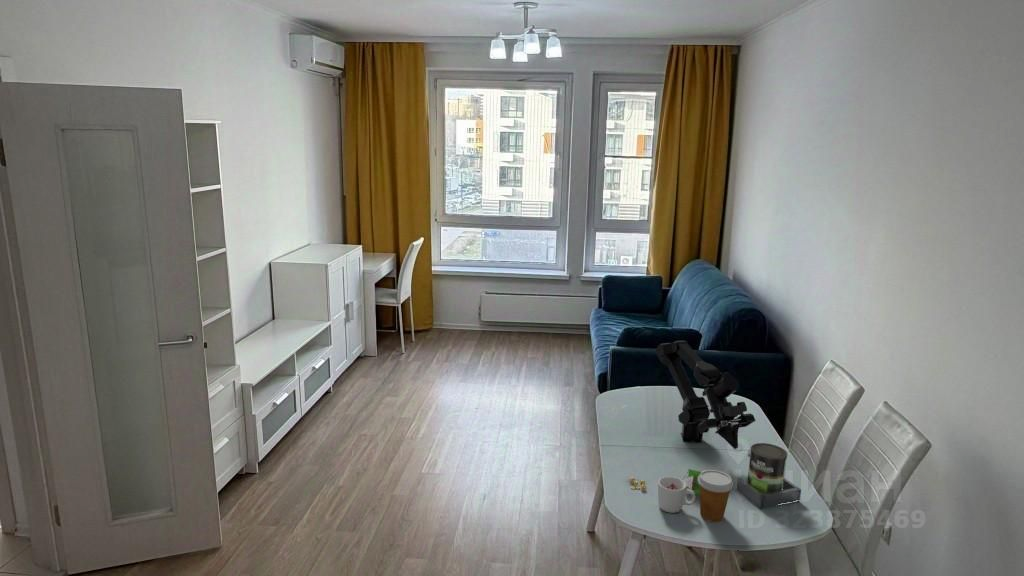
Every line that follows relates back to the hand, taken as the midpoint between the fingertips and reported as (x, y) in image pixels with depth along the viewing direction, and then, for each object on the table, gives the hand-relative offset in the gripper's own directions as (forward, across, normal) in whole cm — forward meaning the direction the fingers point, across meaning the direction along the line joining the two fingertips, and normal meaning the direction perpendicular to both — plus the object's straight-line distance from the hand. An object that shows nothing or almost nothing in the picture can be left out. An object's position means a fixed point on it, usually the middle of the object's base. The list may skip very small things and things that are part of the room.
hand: (736, 448), depth 214 cm
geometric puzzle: (+11, -20, 0) cm, 23 cm away
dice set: (+6, -35, +6) cm, 36 cm away
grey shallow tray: (+17, 0, -6) cm, 18 cm away
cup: (+16, -31, -5) cm, 35 cm away
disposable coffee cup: (+20, -23, -9) cm, 32 cm away
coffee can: (+16, 0, -5) cm, 17 cm away
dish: (+1, +15, +10) cm, 18 cm away
